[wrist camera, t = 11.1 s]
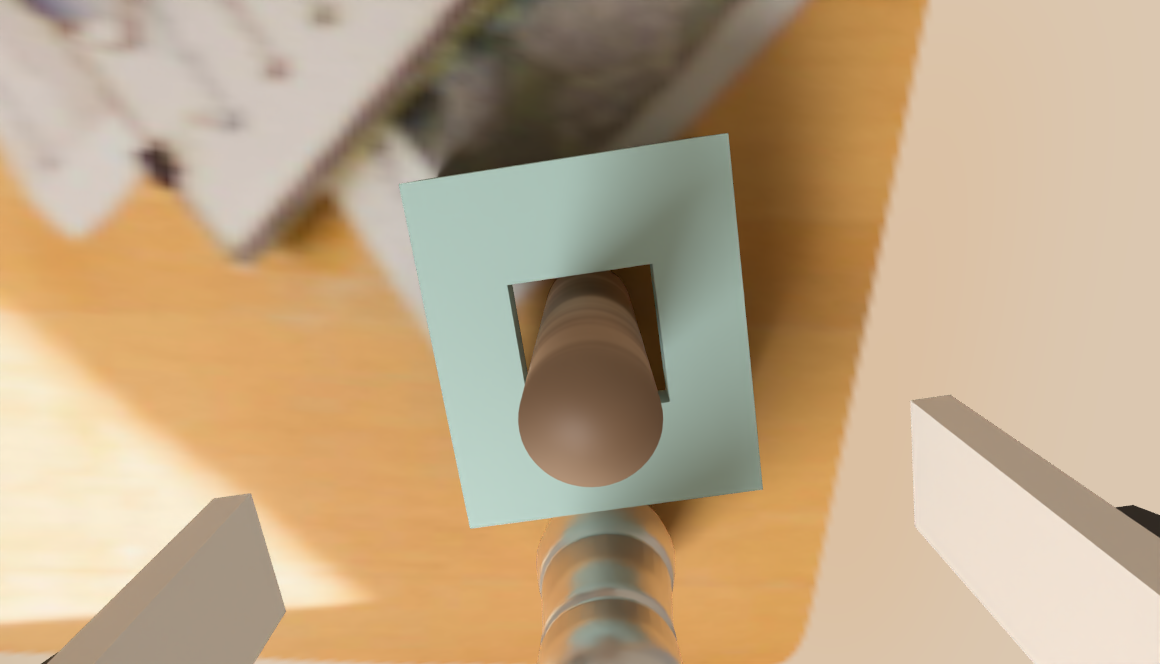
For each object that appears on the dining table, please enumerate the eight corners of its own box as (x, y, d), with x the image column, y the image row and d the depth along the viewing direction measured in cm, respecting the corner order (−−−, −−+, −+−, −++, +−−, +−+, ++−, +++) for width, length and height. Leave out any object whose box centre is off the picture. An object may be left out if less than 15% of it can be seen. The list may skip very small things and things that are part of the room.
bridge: (436, 177, 33) (398, 184, 26) (698, 136, 32) (728, 133, 26) (491, 457, 36) (470, 528, 30) (728, 425, 36) (762, 489, 29)
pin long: (540, 271, 34) (506, 361, 19) (624, 259, 34) (653, 340, 19) (553, 352, 35) (531, 495, 20) (635, 340, 35) (671, 477, 20)
